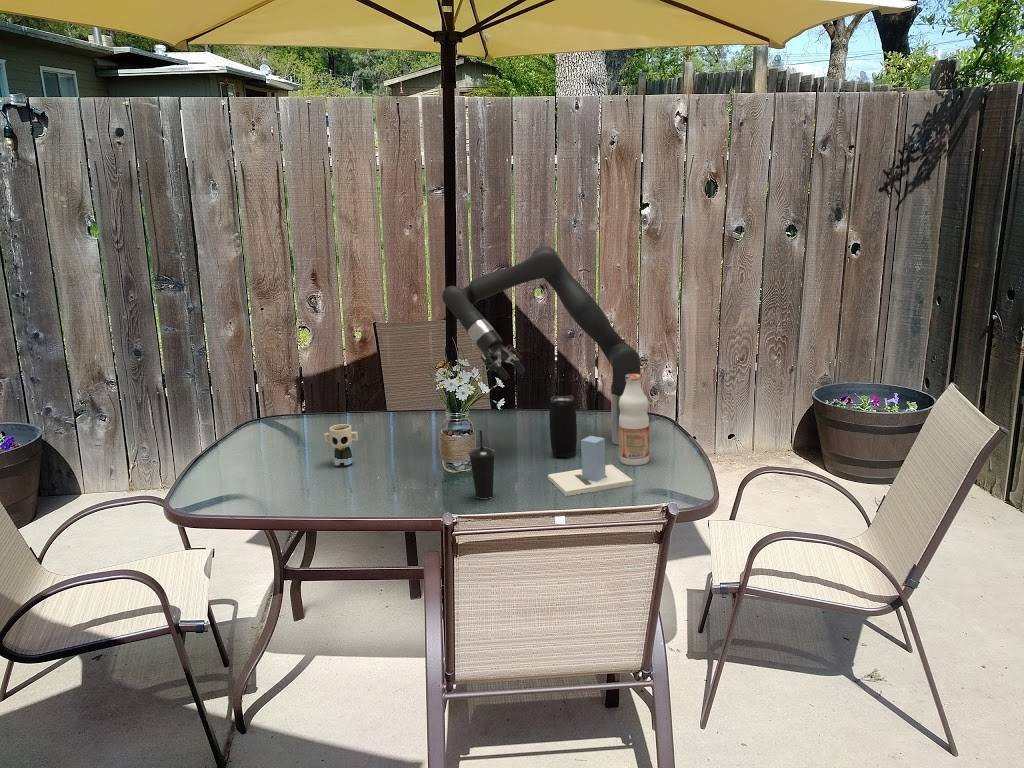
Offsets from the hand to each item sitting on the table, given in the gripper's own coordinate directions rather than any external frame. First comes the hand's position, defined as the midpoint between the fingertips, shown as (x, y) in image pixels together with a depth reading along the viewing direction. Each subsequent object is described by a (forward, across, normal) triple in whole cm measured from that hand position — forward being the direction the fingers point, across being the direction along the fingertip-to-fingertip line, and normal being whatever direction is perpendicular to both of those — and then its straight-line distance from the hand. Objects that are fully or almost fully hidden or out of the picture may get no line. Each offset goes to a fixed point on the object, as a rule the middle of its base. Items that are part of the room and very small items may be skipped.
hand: (515, 375), depth 256 cm
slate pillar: (+41, -4, -3) cm, 41 cm away
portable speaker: (+27, +12, +14) cm, 33 cm away
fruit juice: (+43, +18, -2) cm, 47 cm away
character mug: (-14, -32, +55) cm, 65 cm away
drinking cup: (+27, -30, +14) cm, 43 cm away
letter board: (+41, -5, -1) cm, 41 cm away
